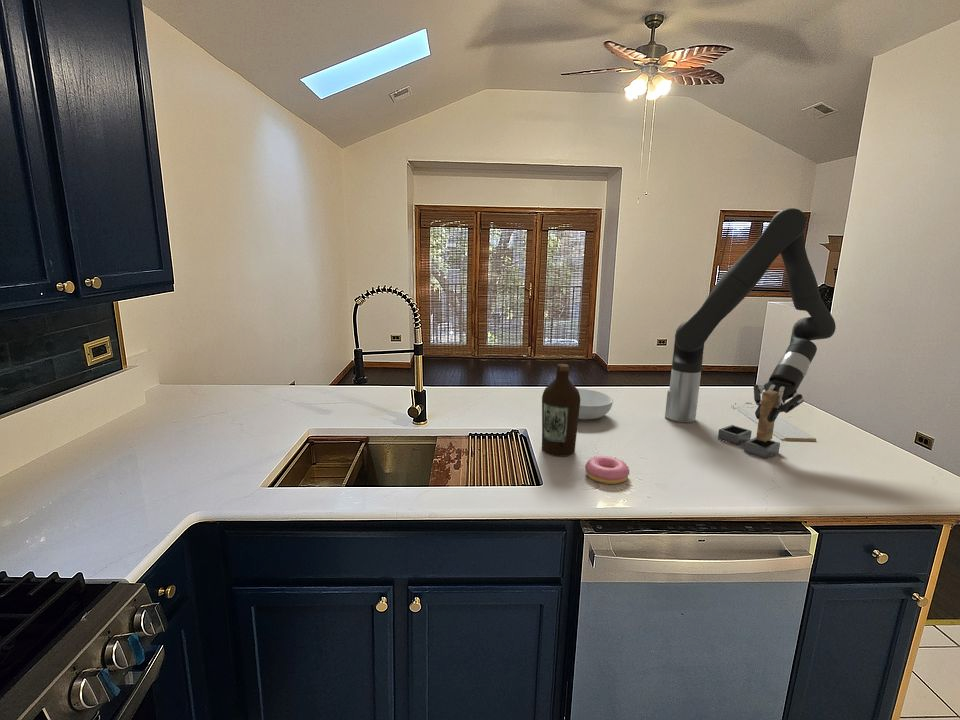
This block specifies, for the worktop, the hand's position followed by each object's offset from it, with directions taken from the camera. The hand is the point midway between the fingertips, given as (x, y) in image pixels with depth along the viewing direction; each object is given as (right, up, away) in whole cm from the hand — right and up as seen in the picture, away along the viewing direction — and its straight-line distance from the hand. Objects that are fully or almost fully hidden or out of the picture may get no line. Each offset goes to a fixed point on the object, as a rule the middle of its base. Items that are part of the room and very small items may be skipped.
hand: (763, 419), depth 140 cm
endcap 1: (-2, -8, +13) cm, 15 cm away
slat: (+2, -6, +3) cm, 7 cm away
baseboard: (+18, -5, +28) cm, 34 cm away
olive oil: (-57, -9, +3) cm, 58 cm away
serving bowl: (-45, -3, +32) cm, 56 cm away
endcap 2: (+1, -10, +4) cm, 11 cm away
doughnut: (-47, -13, -13) cm, 51 cm away
